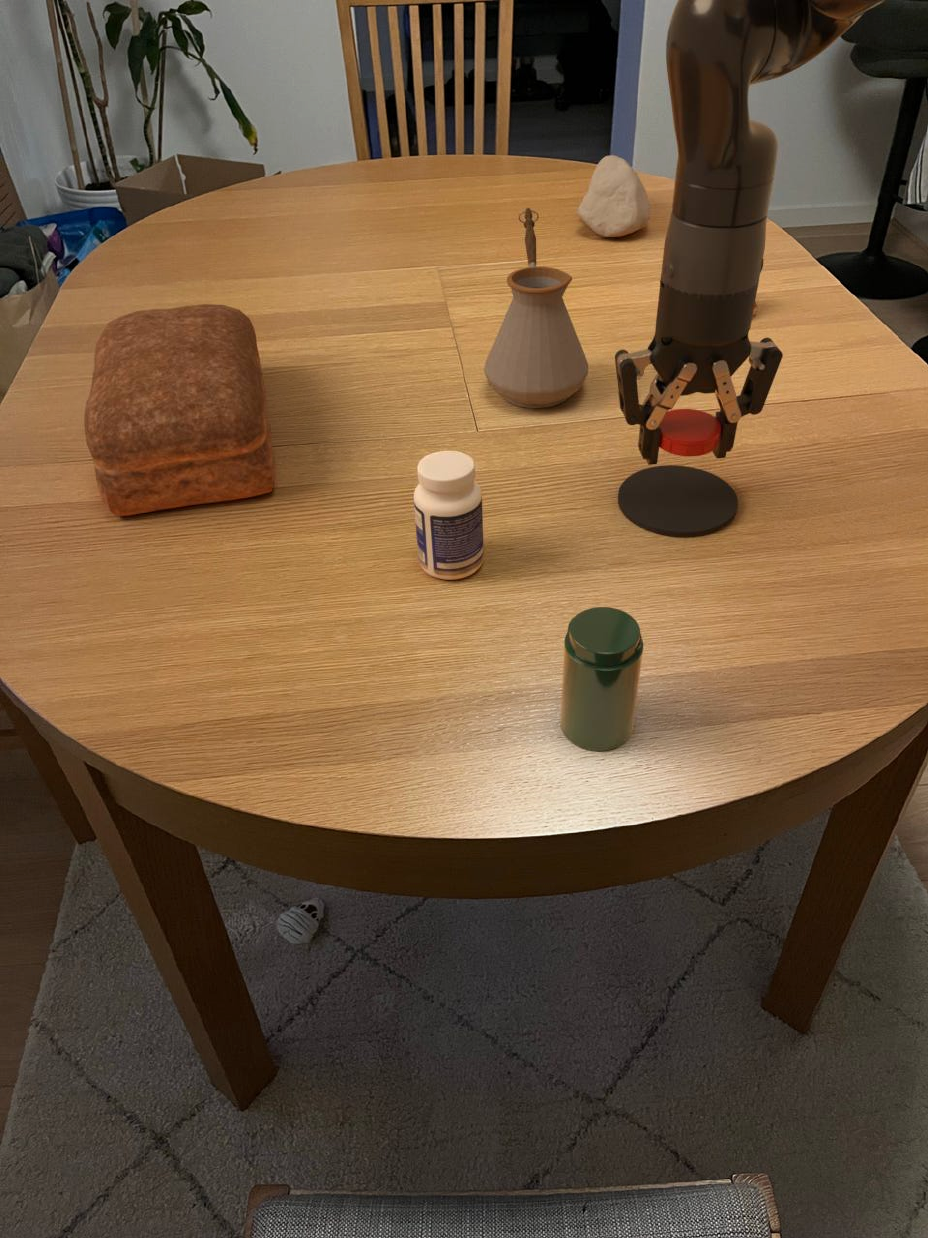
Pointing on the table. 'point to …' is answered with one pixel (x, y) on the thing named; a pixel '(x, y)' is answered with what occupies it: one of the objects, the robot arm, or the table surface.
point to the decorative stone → (615, 199)
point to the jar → (600, 678)
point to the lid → (689, 432)
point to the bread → (178, 410)
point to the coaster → (677, 501)
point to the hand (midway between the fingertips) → (683, 456)
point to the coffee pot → (536, 337)
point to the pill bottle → (448, 515)
